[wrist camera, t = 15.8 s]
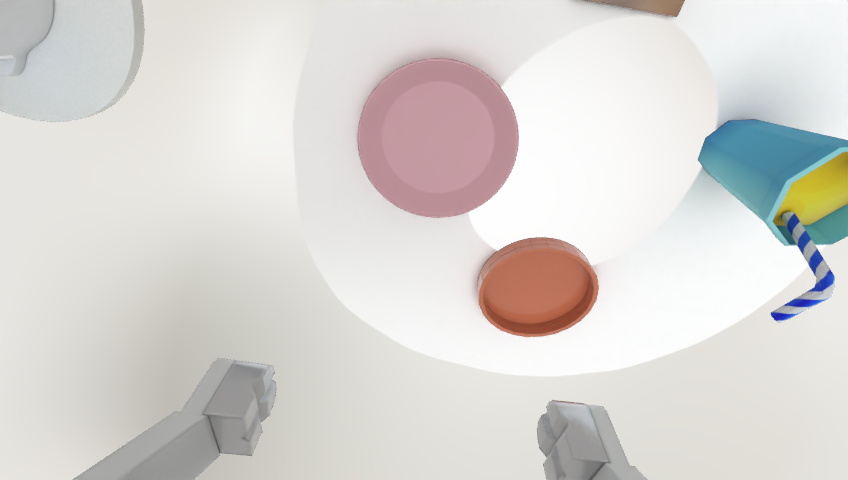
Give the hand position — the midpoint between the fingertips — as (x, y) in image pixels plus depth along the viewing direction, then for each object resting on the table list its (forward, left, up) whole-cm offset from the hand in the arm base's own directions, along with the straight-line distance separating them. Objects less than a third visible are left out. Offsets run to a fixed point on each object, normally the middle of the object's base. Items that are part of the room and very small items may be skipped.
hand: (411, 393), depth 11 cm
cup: (+26, +2, -27) cm, 38 cm away
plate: (0, -1, -27) cm, 27 cm away
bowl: (+14, -16, -27) cm, 34 cm away
